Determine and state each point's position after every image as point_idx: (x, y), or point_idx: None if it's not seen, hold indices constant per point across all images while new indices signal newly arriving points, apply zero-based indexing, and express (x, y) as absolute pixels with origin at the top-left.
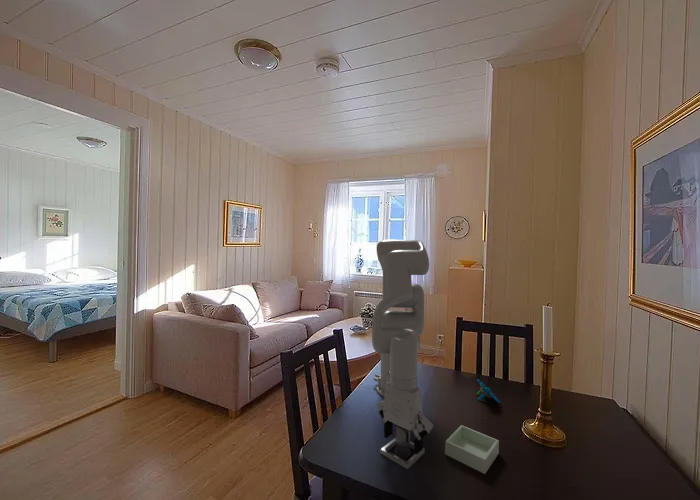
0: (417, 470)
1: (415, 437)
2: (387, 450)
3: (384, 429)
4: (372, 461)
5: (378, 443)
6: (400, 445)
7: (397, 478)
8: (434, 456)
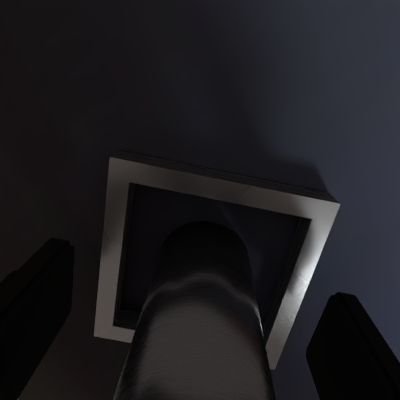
0: (68, 174)
1: None
2: (295, 235)
3: (387, 347)
4: (359, 90)
5: (372, 269)
6: (196, 264)
7: (136, 30)
8: None
